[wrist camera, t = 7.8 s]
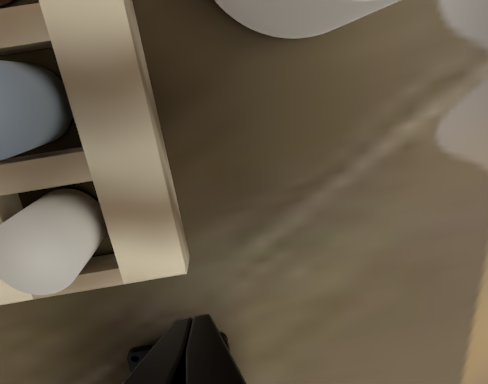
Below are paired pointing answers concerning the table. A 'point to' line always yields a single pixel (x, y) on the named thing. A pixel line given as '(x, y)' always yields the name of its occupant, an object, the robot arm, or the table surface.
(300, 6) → the cup
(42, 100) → the button slate
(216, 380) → the robot arm
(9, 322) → the table surface
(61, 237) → the button cream
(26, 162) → the board
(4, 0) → the button terracotta
